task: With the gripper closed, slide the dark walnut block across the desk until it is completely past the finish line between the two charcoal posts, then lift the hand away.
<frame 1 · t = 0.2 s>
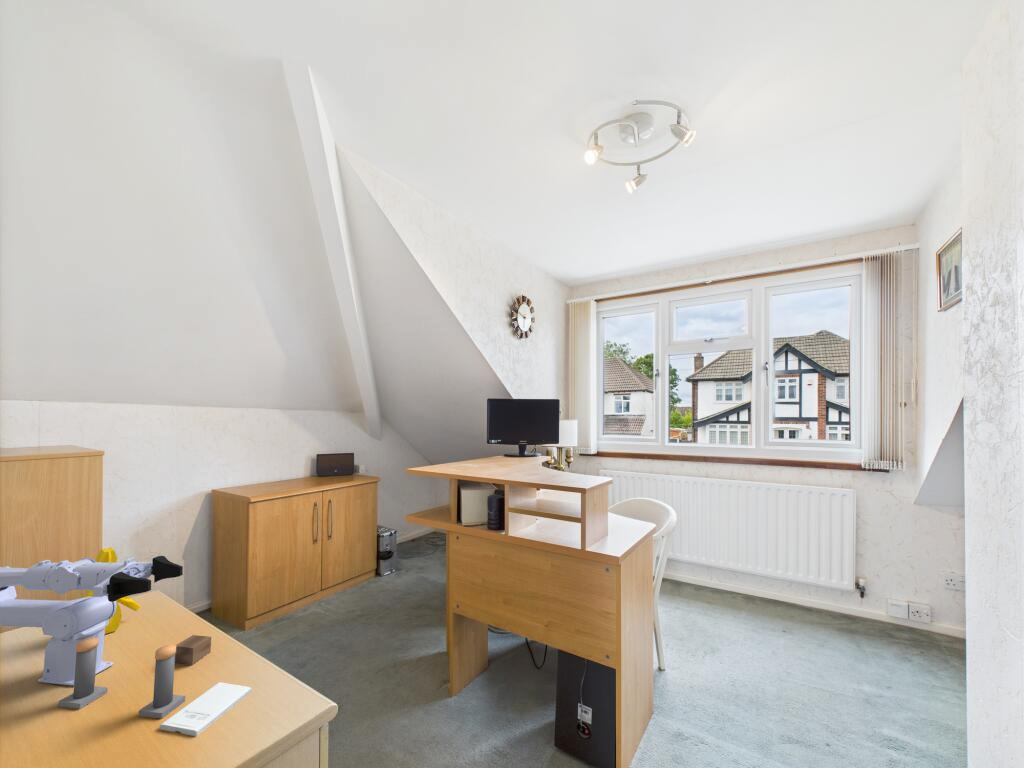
hand: (166, 578, 94), 22 cm above the table, tool horizontal, fingers open, 7 cm apart
finish line: (122, 703, 85), on the table
walnut block: (192, 658, 101), on the table
figure statuette: (98, 635, 111), on the table
external hard drive: (207, 713, 84), on the table
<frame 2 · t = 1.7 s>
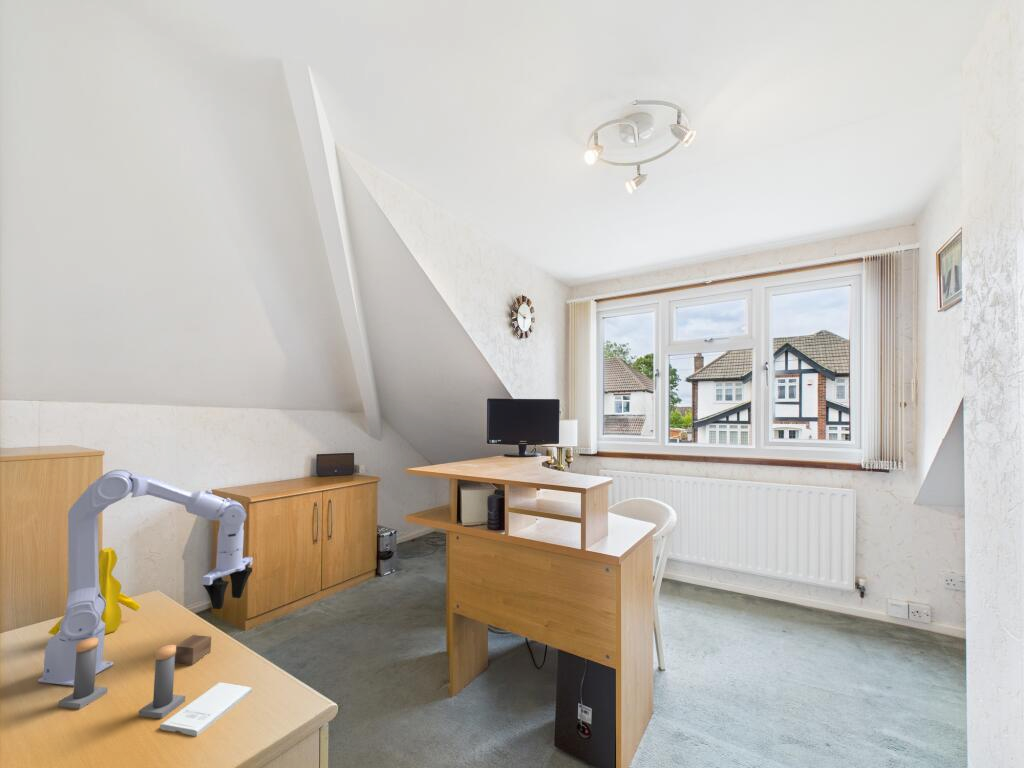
hand: (227, 602, 111), 8 cm above the table, tool pointing down, fingers open, 6 cm apart
nothing on the table moved.
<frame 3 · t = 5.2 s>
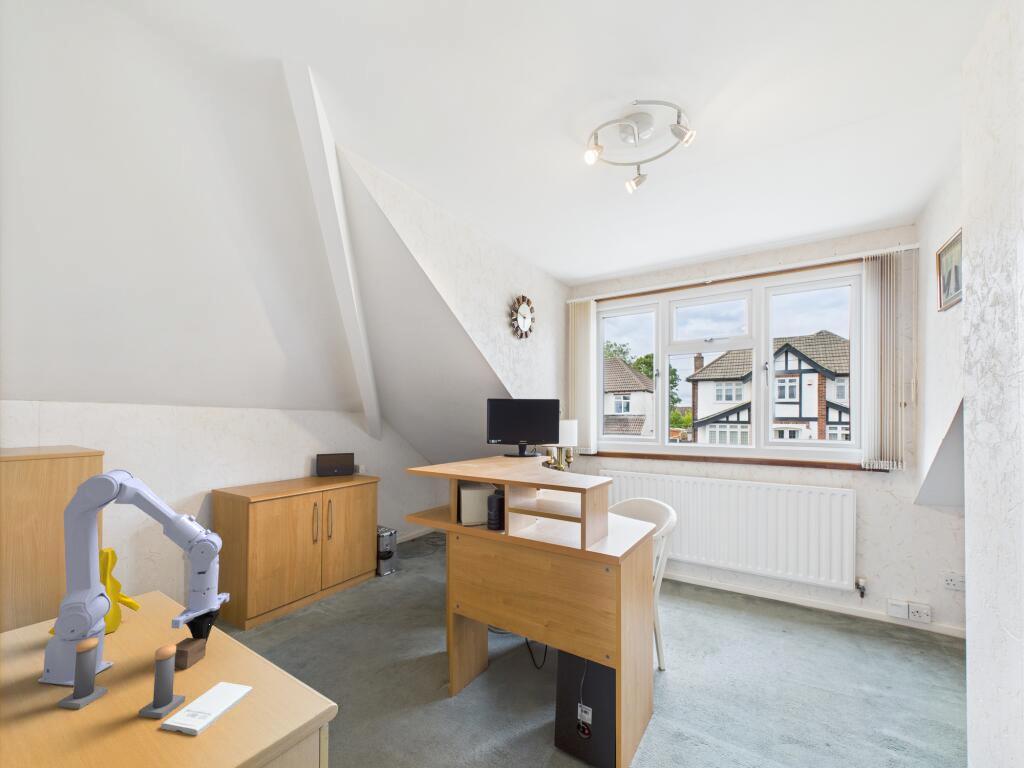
hand: (200, 644, 103), 2 cm above the table, tool pointing down, fingers closed
walnut block: (186, 661, 100), on the table, touching gripper
everything else where it was.
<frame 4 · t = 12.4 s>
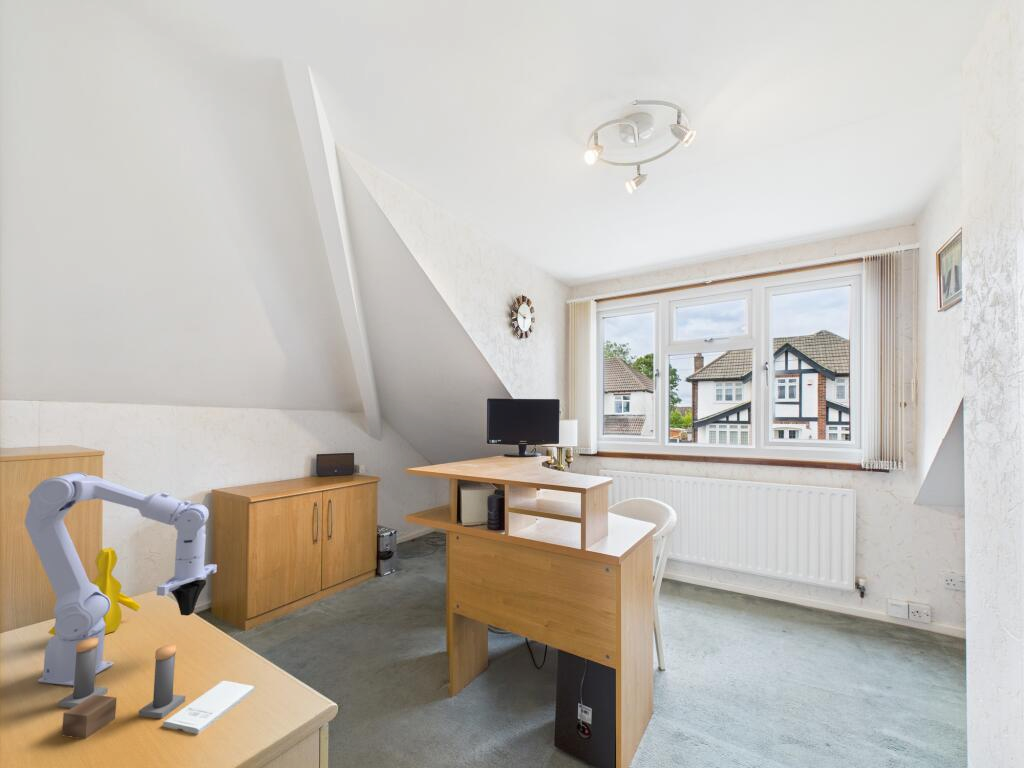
hand: (186, 614, 103), 9 cm above the table, tool pointing down, fingers closed
walnut block: (89, 727, 79), on the table
everything else where it was.
at the end: walnut block inside the target area (2.1 cm from its centre), on the table; walnut block tilted 0° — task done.
